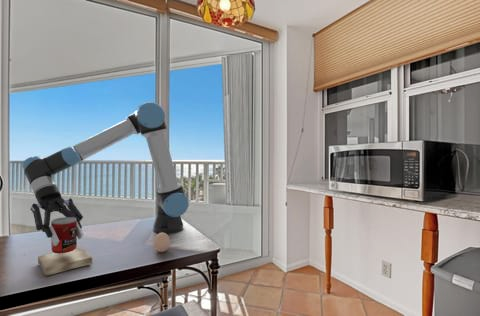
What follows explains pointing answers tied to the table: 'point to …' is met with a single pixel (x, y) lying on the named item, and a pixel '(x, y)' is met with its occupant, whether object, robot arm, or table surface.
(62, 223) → the canned food
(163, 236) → the egg
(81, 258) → the maple stand
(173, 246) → the table surface
